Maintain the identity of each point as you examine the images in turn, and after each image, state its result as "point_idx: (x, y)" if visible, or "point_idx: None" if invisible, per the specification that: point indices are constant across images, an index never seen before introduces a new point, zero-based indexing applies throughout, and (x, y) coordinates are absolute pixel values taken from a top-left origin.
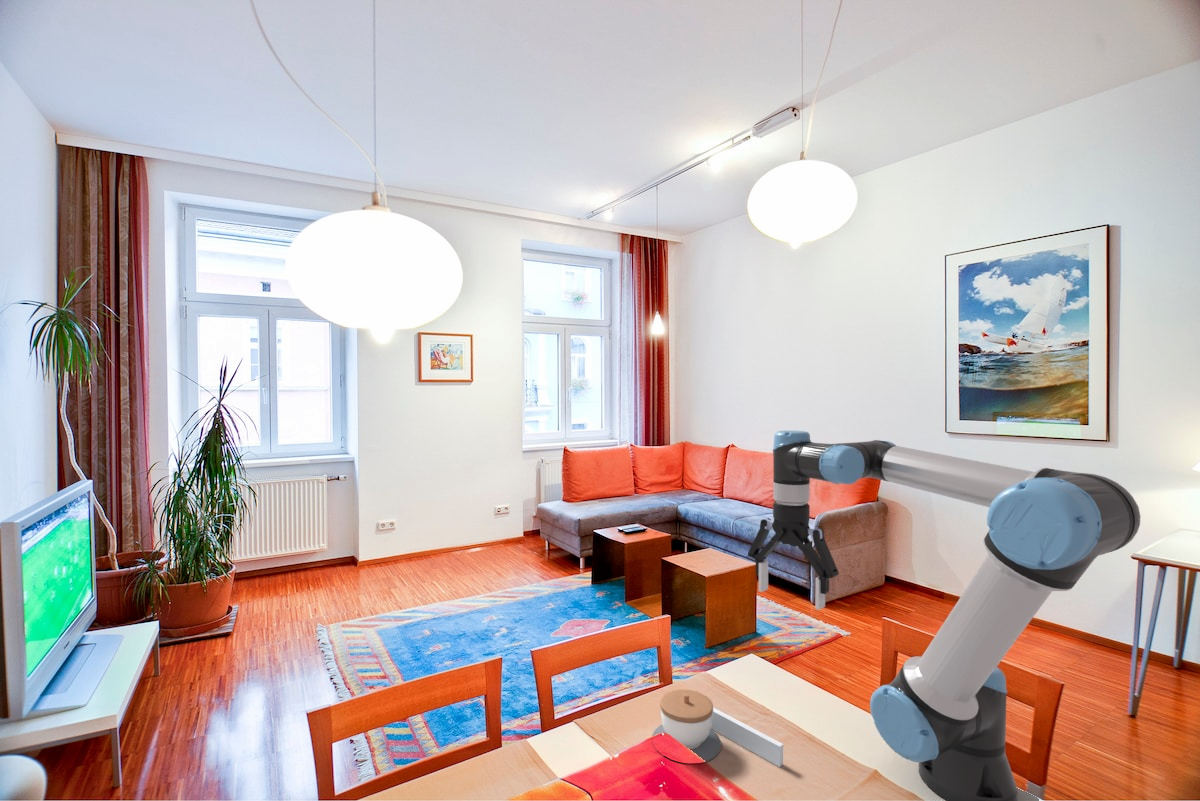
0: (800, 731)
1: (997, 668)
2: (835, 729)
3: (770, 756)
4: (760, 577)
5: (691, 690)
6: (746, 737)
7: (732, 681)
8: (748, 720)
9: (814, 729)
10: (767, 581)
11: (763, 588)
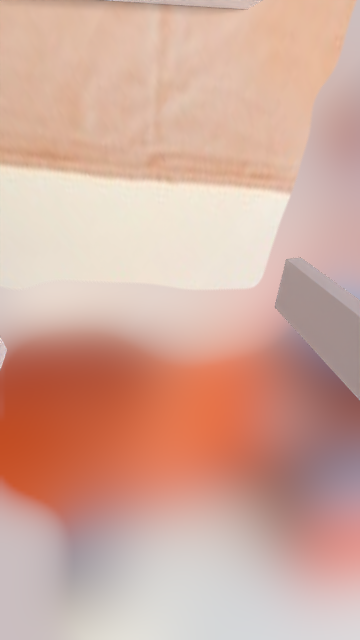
0: (77, 162)
1: None
2: (50, 222)
3: None
4: (339, 295)
5: None
6: None
7: (249, 205)
8: (159, 106)
9: (69, 190)
10: (296, 325)
11: (289, 282)
